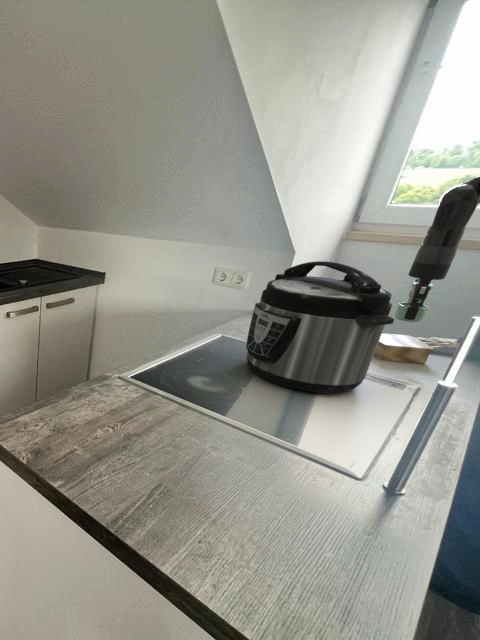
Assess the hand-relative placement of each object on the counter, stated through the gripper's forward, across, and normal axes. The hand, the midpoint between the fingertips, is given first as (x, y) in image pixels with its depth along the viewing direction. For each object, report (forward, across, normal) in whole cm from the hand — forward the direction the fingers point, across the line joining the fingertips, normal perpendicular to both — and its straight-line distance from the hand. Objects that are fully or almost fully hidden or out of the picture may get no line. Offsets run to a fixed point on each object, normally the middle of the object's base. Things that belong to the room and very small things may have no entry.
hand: (408, 316), depth 118 cm
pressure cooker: (+13, -37, +20) cm, 44 cm away
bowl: (+1, 0, 0) cm, 1 cm away
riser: (+13, 0, 0) cm, 13 cm away
